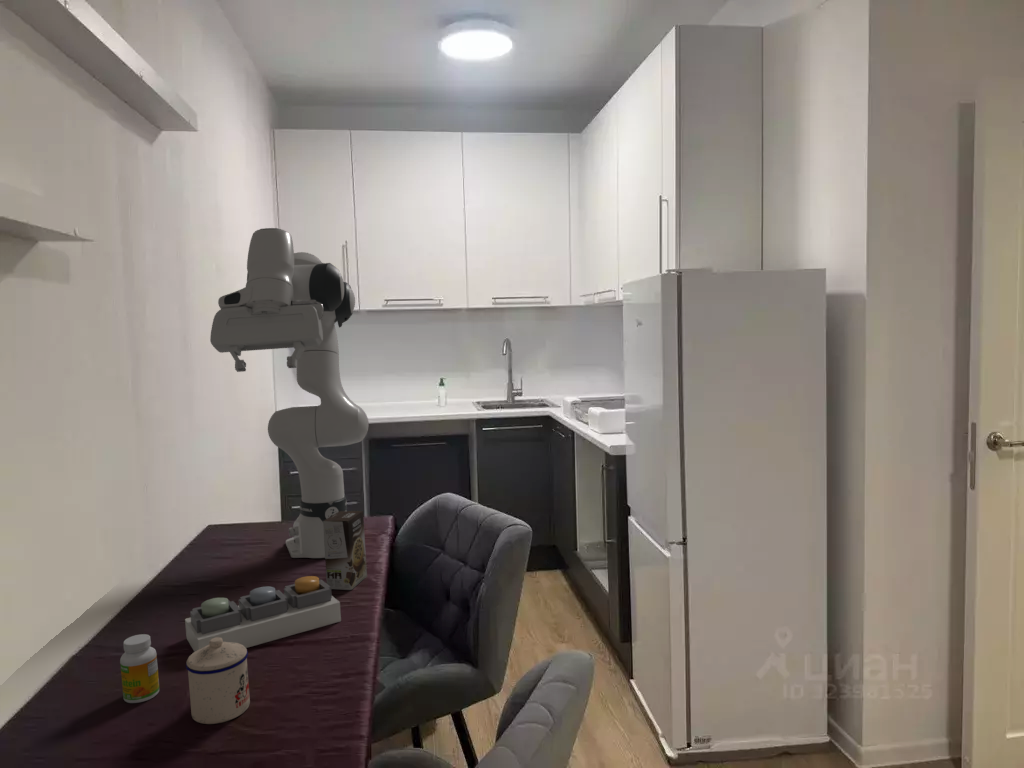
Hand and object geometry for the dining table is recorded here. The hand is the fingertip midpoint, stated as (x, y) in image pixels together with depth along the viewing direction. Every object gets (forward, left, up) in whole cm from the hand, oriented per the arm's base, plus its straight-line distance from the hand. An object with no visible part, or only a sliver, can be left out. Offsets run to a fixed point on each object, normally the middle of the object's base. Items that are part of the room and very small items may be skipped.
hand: (266, 368), depth 134 cm
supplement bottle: (+5, -25, -53) cm, 59 cm away
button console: (-8, -1, -52) cm, 53 cm away
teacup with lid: (+17, -15, -53) cm, 57 cm away
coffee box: (-22, +22, -53) cm, 61 cm away
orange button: (-8, +8, -46) cm, 48 cm away
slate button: (-8, -1, -47) cm, 47 cm away
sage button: (-8, -10, -47) cm, 48 cm away
